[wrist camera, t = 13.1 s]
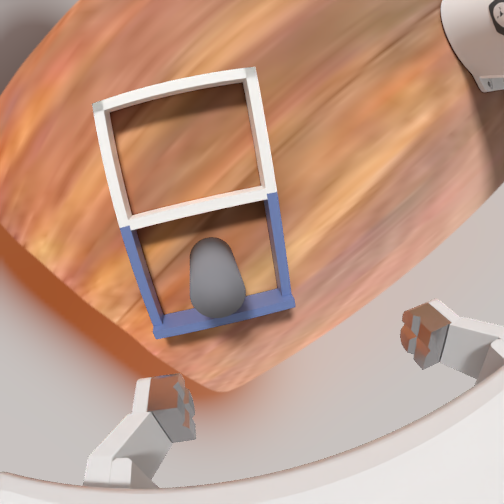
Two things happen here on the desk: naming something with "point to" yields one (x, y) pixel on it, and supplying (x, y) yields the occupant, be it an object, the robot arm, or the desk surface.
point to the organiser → (197, 203)
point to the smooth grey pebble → (215, 279)
